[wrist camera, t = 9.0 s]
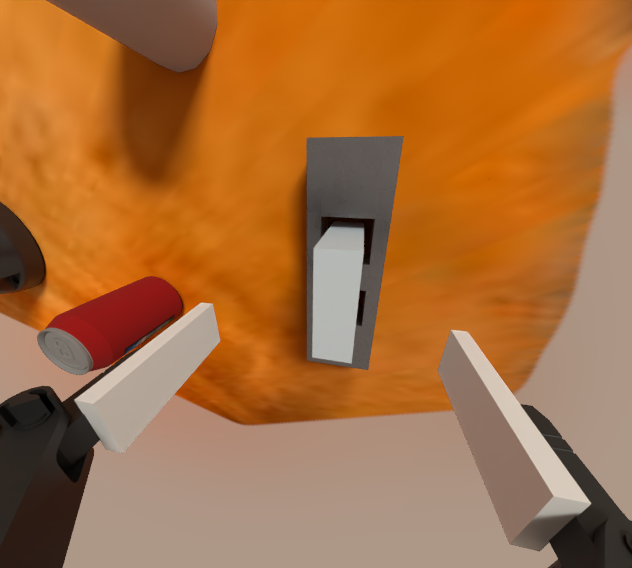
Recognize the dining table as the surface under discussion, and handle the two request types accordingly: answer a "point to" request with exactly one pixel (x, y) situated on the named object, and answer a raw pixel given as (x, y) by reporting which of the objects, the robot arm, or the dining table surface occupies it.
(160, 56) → the cup
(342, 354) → the upright white panel
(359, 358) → the block with rectangular holes
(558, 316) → the dining table surface
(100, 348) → the beverage can
